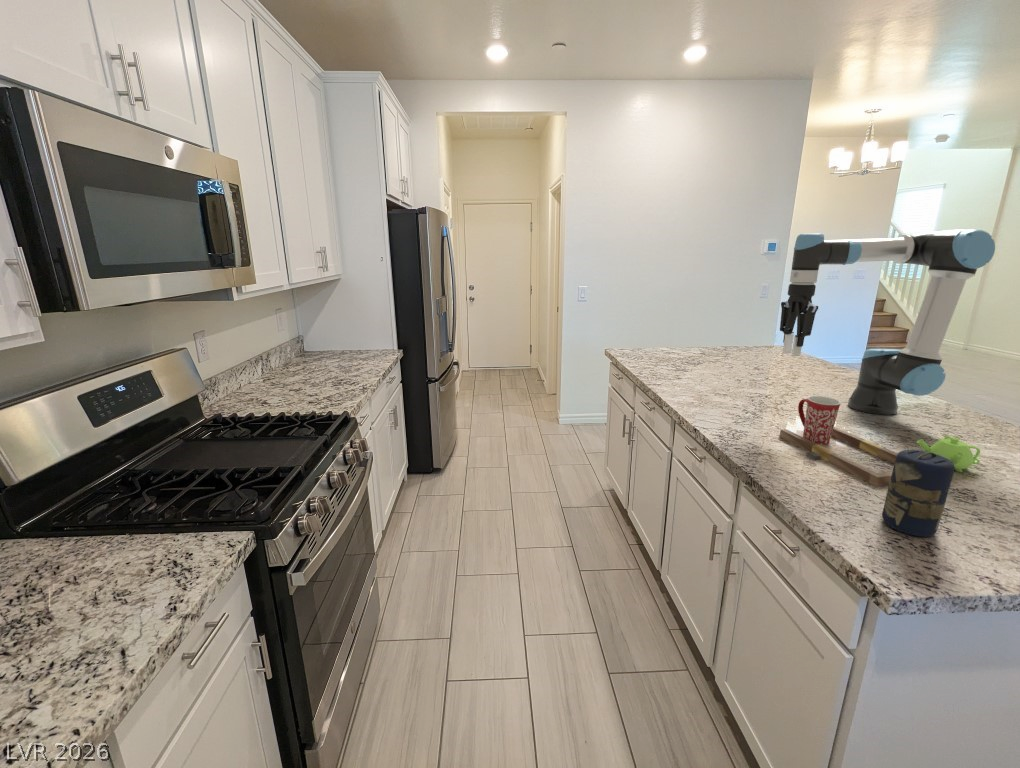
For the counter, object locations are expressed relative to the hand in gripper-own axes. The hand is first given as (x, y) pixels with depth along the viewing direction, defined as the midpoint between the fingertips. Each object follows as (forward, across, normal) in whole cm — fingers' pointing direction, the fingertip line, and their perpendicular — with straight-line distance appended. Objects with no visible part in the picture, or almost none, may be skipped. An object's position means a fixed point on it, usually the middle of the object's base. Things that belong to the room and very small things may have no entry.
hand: (791, 354), depth 160 cm
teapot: (+25, +39, +20) cm, 50 cm away
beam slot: (+25, +27, 0) cm, 37 cm away
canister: (+25, +62, -20) cm, 70 cm away
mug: (+25, +14, 0) cm, 28 cm away
